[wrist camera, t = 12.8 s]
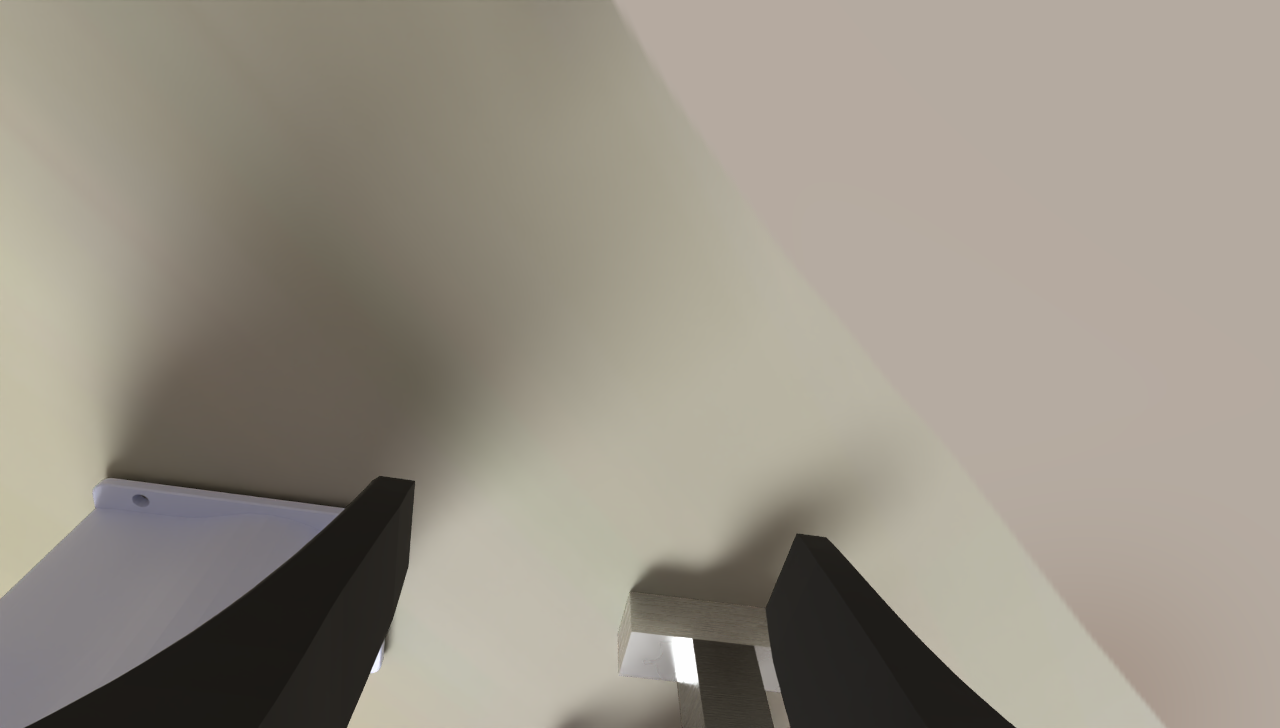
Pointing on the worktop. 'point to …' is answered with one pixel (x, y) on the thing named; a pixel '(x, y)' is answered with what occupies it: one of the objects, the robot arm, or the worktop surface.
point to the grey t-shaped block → (702, 657)
